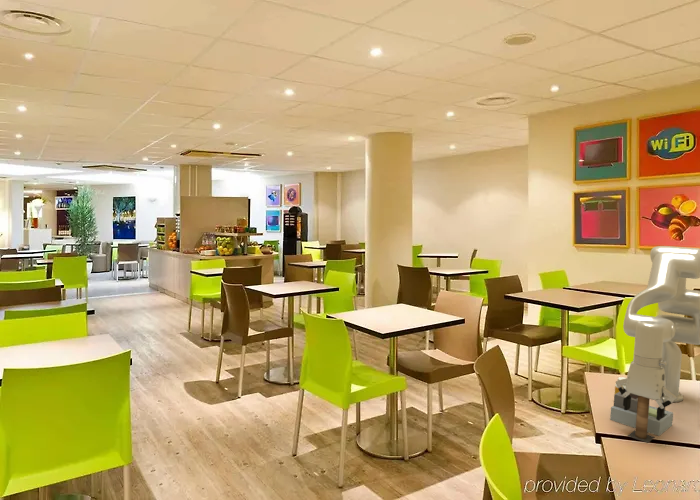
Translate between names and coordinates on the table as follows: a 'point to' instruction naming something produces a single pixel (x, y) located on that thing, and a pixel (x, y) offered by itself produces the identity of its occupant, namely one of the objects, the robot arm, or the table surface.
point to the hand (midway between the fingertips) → (642, 413)
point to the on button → (652, 412)
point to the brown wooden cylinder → (642, 417)
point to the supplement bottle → (622, 384)
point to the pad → (640, 438)
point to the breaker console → (630, 415)
